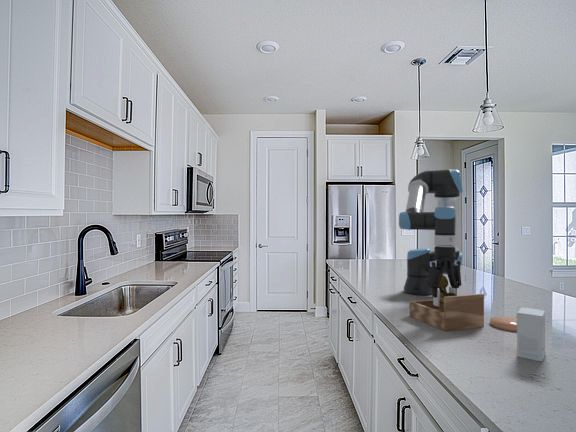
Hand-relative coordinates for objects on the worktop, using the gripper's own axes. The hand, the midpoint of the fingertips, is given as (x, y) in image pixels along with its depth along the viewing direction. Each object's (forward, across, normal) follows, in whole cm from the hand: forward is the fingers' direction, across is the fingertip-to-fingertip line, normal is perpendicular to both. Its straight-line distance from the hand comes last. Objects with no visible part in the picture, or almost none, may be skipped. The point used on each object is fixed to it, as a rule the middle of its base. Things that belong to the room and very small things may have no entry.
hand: (444, 304), depth 142 cm
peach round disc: (+6, +19, -13) cm, 24 cm away
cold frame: (+6, 0, 0) cm, 6 cm away
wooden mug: (+7, +1, 0) cm, 7 cm away
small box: (+7, -1, -36) cm, 37 cm away
